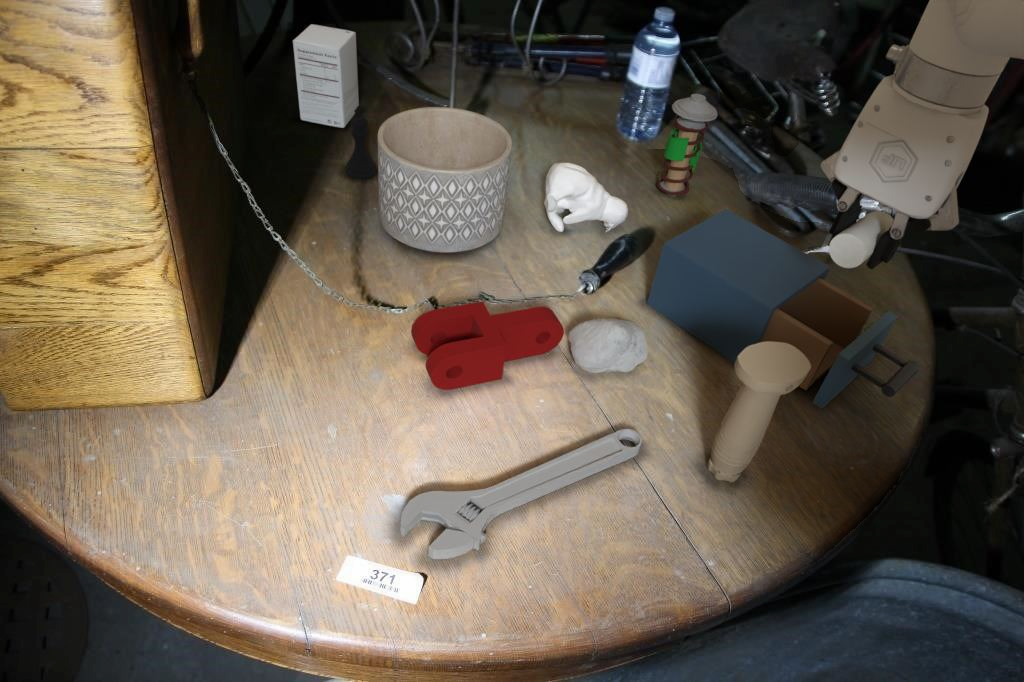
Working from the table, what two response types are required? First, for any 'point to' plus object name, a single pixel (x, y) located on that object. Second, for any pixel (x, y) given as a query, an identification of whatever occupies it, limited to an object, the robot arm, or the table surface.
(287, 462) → the table surface
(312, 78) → the white packaging box
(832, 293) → the drawer
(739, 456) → the handle
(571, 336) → the pebble
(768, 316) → the cabinet
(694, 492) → the table surface
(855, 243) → the white cylinder
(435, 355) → the mechanical linkage
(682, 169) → the shock absorber
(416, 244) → the planter
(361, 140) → the chess piece
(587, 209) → the white figurine
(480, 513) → the adjustable wrench
